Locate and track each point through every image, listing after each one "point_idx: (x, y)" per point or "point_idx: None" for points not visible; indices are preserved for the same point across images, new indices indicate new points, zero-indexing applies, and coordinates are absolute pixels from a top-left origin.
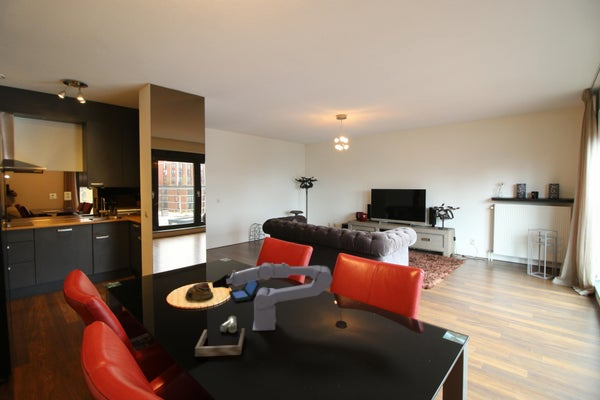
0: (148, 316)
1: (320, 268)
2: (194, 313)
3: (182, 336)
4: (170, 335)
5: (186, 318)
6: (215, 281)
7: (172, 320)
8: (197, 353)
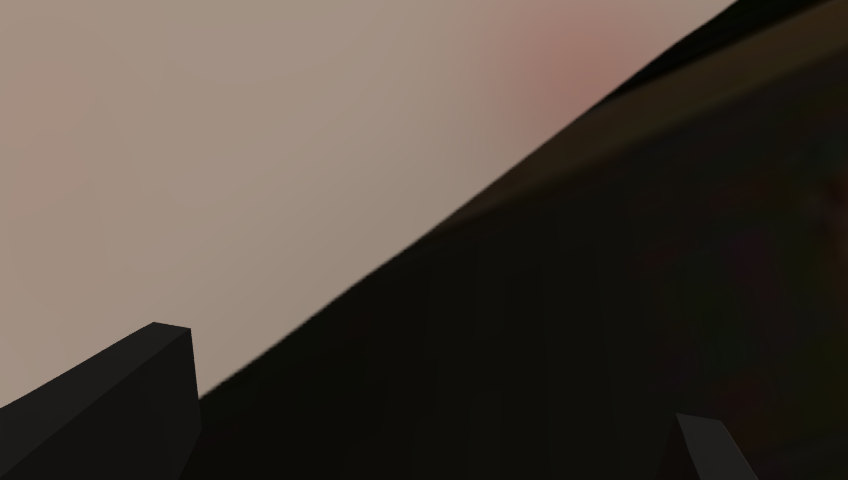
0: (668, 99)
1: None
2: (817, 366)
3: (339, 438)
4: (372, 344)
5: (682, 338)
6: (62, 376)
7: (625, 253)
8: None
